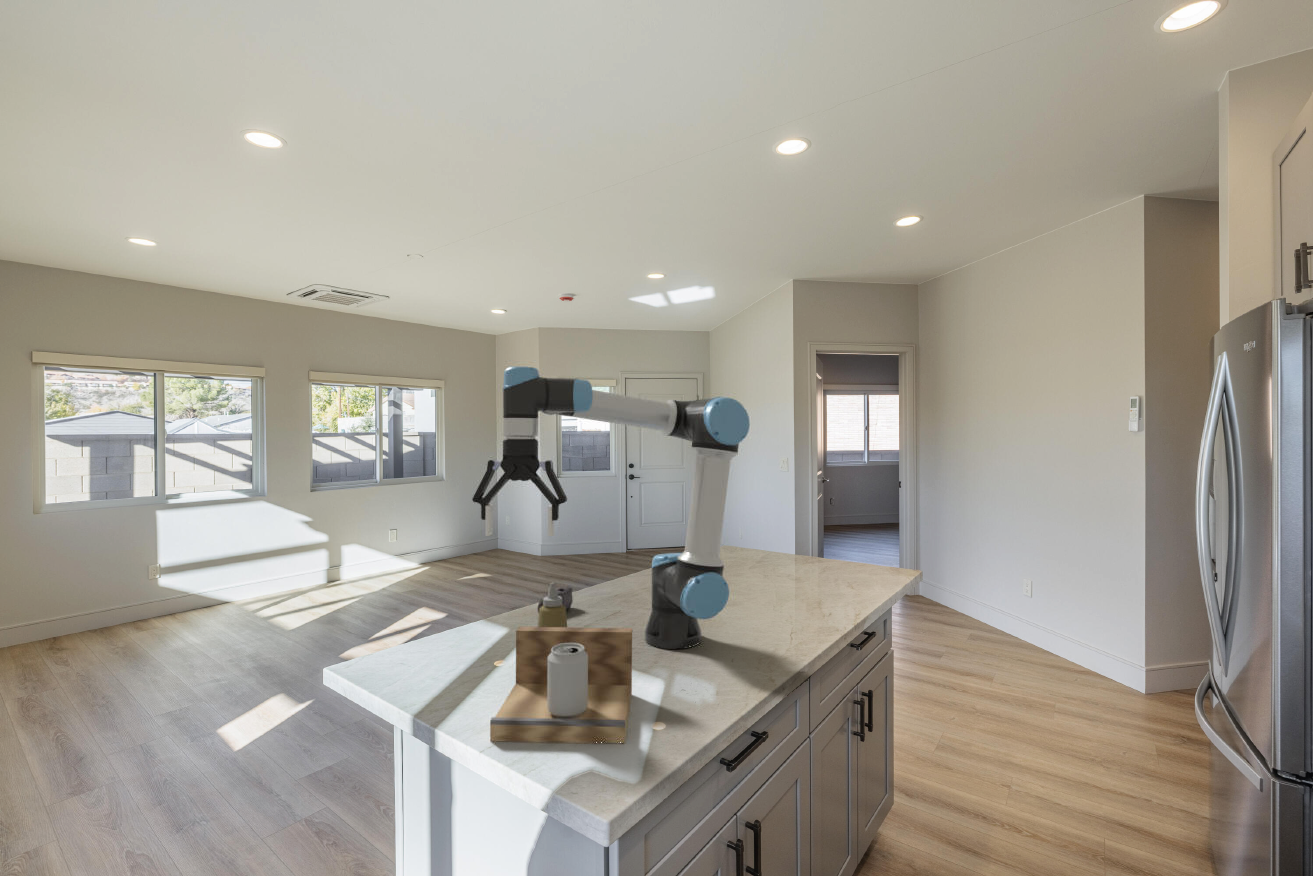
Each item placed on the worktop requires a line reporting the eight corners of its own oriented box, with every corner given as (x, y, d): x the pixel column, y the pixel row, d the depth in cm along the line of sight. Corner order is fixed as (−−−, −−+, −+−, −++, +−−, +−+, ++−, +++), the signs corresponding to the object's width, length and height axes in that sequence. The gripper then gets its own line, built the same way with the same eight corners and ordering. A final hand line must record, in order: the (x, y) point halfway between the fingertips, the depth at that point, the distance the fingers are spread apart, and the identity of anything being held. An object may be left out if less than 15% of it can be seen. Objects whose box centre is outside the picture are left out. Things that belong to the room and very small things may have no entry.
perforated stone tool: (544, 621, 174) (544, 597, 174) (531, 618, 177) (531, 594, 176) (577, 608, 186) (578, 586, 186) (565, 606, 189) (565, 584, 189)
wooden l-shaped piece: (631, 694, 125) (632, 628, 125) (624, 743, 105) (625, 665, 105) (518, 692, 125) (519, 626, 125) (490, 741, 105) (490, 663, 105)
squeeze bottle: (575, 653, 148) (575, 581, 148) (556, 664, 141) (557, 589, 141) (548, 648, 152) (548, 578, 152) (528, 658, 144) (529, 585, 144)
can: (590, 718, 108) (590, 652, 108) (548, 723, 106) (548, 656, 106) (585, 700, 115) (585, 639, 115) (546, 704, 113) (546, 642, 113)
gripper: (580, 438, 133) (579, 532, 133) (469, 437, 133) (469, 531, 133) (574, 438, 125) (574, 538, 125) (457, 437, 126) (457, 537, 126)
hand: (519, 535), depth 129 cm, fingers open, 13 cm apart
